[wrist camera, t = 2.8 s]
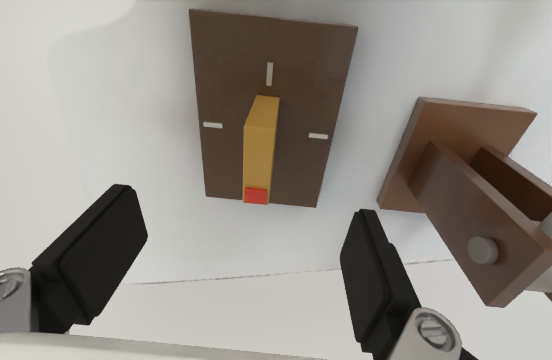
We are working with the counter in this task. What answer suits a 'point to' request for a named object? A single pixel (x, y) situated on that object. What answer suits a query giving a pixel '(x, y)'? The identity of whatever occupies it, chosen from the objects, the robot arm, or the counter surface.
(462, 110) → the handle bracket
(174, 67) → the counter surface
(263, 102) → the lock knob
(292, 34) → the plate
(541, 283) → the door lever
